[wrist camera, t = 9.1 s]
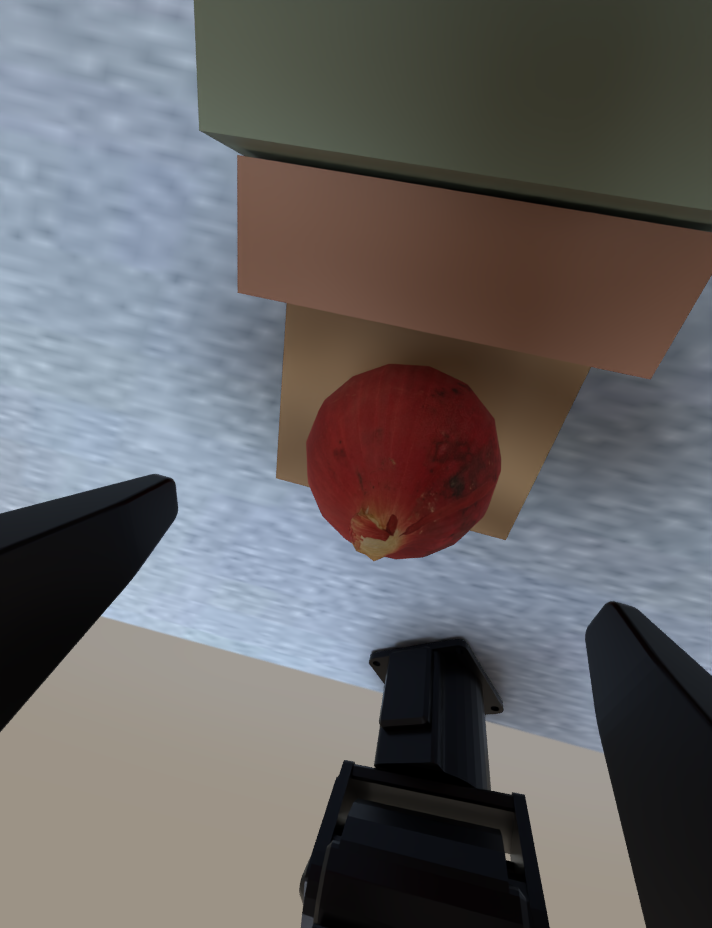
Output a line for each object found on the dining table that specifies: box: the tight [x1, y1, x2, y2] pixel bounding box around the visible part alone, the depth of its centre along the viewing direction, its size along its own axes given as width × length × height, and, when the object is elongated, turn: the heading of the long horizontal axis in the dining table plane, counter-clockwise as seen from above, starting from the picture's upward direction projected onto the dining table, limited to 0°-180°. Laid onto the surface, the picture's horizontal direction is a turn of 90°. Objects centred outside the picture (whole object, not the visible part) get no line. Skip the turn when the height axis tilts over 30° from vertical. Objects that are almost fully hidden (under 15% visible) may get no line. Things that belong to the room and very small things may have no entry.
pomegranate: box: [306, 364, 501, 561], centre depth 11 cm, size 6×6×8 cm
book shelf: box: [194, 0, 712, 540], centre depth 10 cm, size 15×11×10 cm
